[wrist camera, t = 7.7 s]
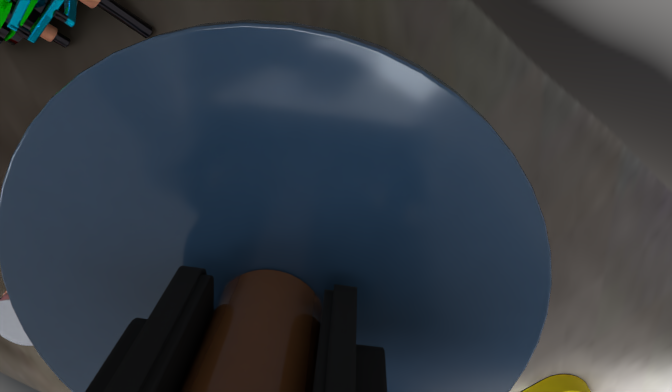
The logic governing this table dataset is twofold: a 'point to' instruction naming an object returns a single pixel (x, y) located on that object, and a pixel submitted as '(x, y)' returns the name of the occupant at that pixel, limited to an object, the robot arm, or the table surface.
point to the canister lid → (275, 212)
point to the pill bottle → (11, 323)
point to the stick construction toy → (27, 4)
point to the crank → (560, 384)
